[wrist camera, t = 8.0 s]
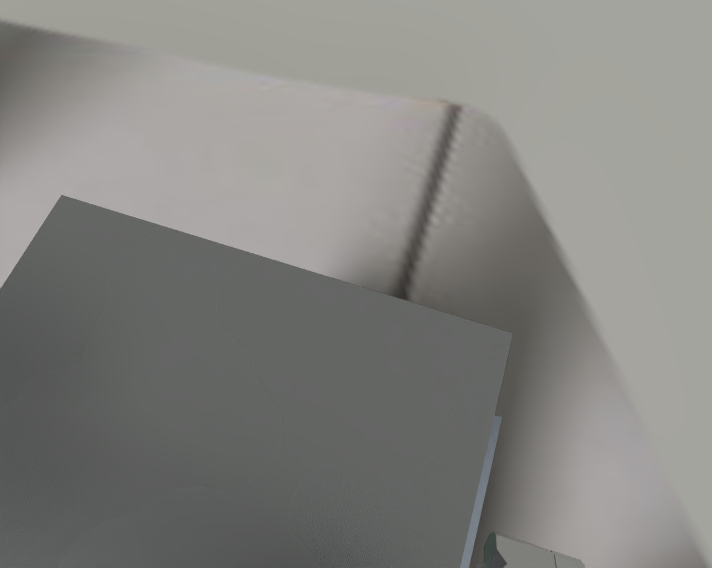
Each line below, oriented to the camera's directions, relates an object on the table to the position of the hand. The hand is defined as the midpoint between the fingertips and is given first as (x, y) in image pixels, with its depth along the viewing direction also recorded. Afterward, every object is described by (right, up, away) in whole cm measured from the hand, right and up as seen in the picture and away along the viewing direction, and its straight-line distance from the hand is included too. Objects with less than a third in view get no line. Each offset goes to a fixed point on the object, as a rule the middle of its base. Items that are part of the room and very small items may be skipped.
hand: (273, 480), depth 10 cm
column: (0, -6, +11) cm, 12 cm away
